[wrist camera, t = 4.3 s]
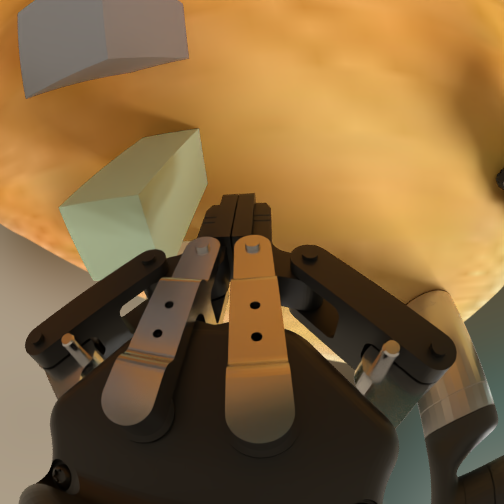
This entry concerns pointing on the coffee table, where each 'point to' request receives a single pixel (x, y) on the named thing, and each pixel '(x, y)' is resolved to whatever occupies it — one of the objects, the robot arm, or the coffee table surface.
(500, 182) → the figurine
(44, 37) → the slate grey pillar
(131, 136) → the coffee table surface
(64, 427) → the robot arm
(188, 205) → the sage green pillar
